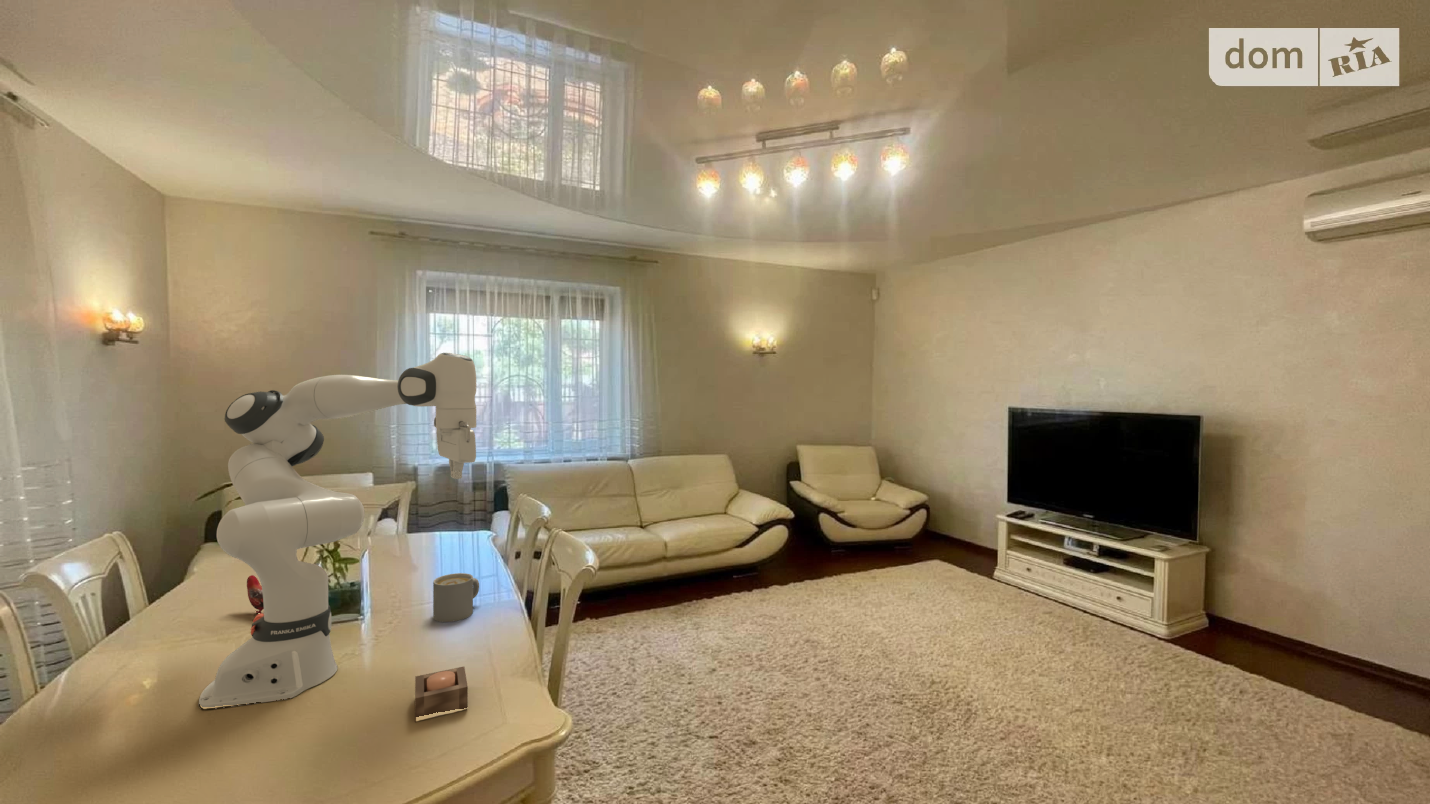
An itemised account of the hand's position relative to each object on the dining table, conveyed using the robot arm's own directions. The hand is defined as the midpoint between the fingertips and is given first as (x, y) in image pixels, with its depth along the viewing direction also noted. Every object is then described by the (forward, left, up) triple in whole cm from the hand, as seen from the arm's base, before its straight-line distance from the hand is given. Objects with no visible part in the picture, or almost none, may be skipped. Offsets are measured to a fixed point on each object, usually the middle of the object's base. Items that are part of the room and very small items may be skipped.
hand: (456, 478), depth 132 cm
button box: (-4, -25, -41) cm, 48 cm away
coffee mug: (+2, +23, -41) cm, 47 cm away
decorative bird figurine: (-46, +45, -41) cm, 77 cm away
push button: (-4, -25, -40) cm, 47 cm away
